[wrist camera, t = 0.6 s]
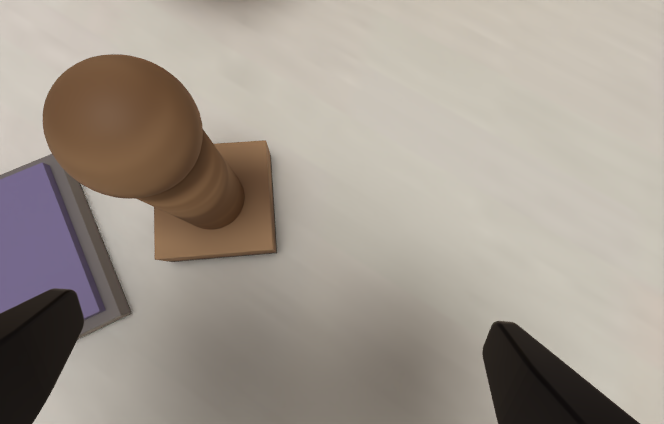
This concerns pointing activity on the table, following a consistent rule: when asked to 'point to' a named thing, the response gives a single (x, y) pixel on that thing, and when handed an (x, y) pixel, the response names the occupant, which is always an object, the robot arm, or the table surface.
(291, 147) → the table surface
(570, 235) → the table surface
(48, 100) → the stamp
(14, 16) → the table surface
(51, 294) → the robot arm
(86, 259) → the ink pad
